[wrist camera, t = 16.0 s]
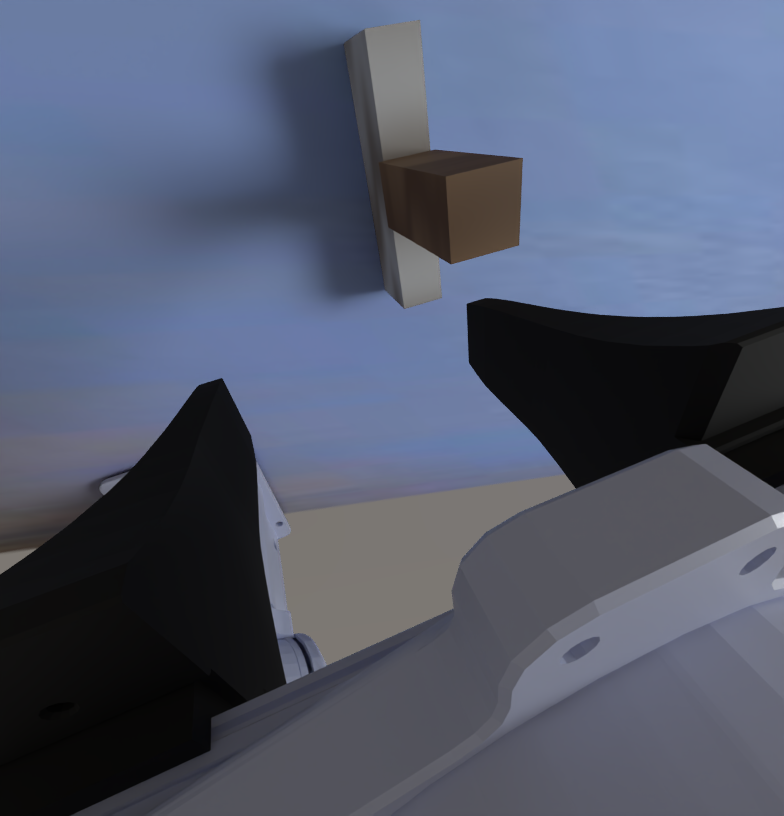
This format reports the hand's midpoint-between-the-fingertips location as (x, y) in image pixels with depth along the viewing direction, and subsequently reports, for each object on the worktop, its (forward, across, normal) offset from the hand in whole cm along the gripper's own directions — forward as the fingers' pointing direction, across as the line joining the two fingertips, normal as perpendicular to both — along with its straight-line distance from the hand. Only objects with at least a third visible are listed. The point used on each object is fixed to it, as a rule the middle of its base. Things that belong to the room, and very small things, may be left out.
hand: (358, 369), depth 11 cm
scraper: (+10, -5, -3) cm, 12 cm away
